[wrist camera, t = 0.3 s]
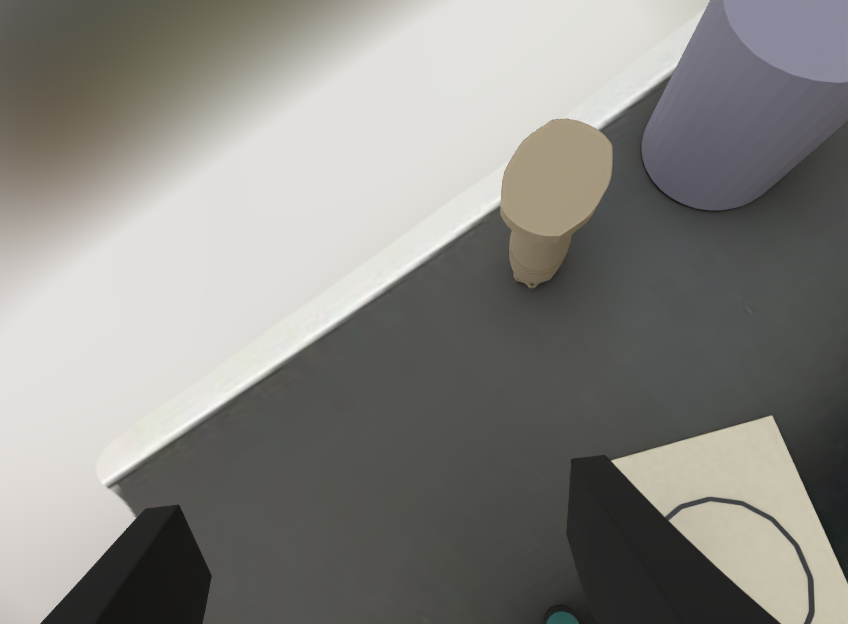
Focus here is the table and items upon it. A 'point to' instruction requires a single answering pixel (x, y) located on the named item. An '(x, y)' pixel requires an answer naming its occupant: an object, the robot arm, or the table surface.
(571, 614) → the marker
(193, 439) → the table surface
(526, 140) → the handle
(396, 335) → the table surface
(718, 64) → the container
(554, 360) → the table surface
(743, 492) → the drawing pad
